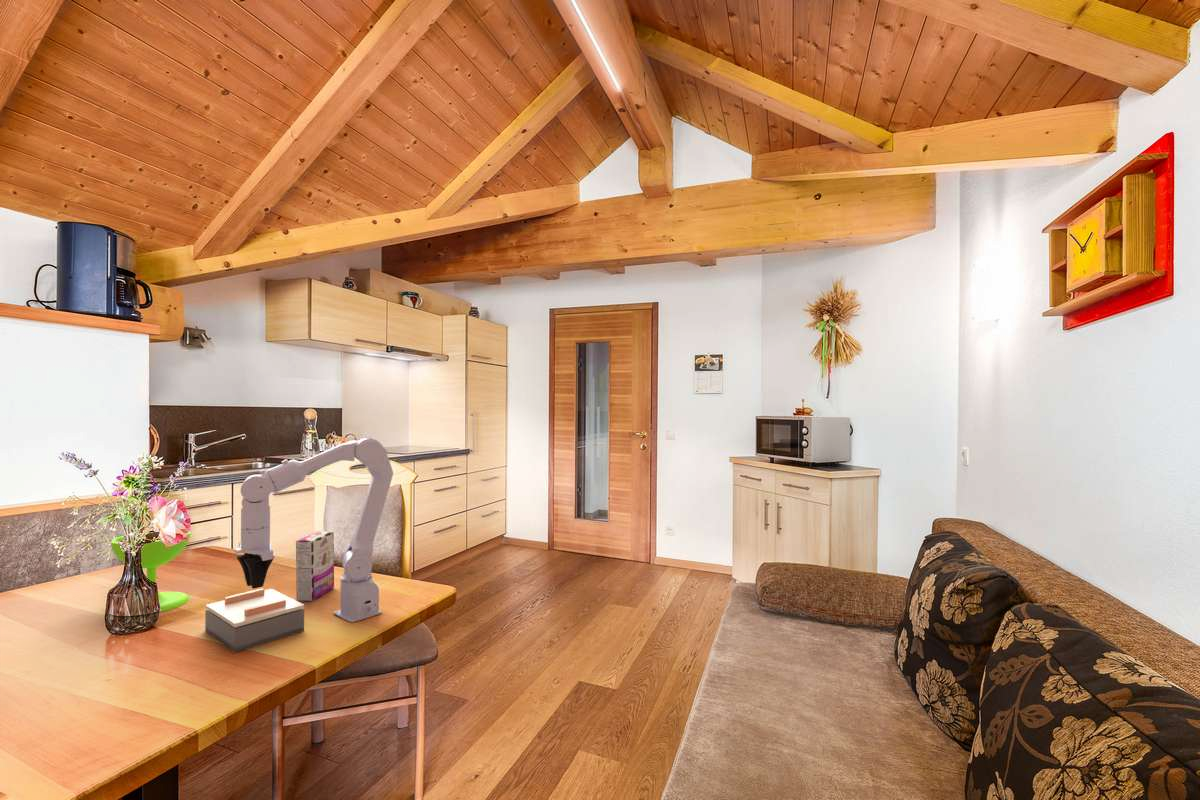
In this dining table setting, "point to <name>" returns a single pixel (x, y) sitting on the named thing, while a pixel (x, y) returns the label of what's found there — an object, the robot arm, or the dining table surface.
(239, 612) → the lid
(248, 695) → the dining table surface
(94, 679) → the dining table surface
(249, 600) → the lid
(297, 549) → the candy bar box
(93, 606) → the dining table surface
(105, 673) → the dining table surface
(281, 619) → the box
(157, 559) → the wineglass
